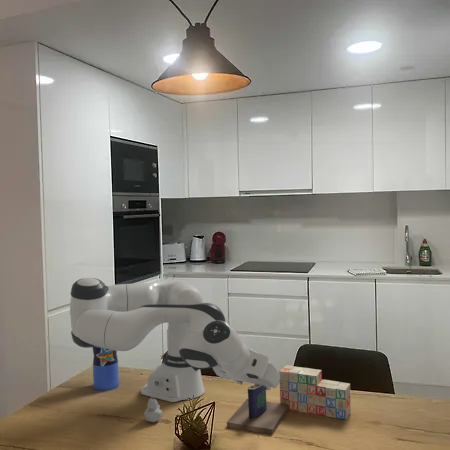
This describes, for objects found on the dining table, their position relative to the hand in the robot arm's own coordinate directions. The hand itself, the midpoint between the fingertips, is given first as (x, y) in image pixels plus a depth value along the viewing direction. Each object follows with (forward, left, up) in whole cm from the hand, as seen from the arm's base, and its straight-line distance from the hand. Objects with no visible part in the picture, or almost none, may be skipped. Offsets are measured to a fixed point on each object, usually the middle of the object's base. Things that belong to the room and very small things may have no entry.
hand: (254, 384), depth 146 cm
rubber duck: (-30, -9, -12) cm, 33 cm away
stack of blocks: (+15, +14, -12) cm, 24 cm away
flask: (0, +3, -10) cm, 11 cm away
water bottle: (-61, +10, -12) cm, 63 cm away
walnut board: (0, +3, -11) cm, 12 cm away
